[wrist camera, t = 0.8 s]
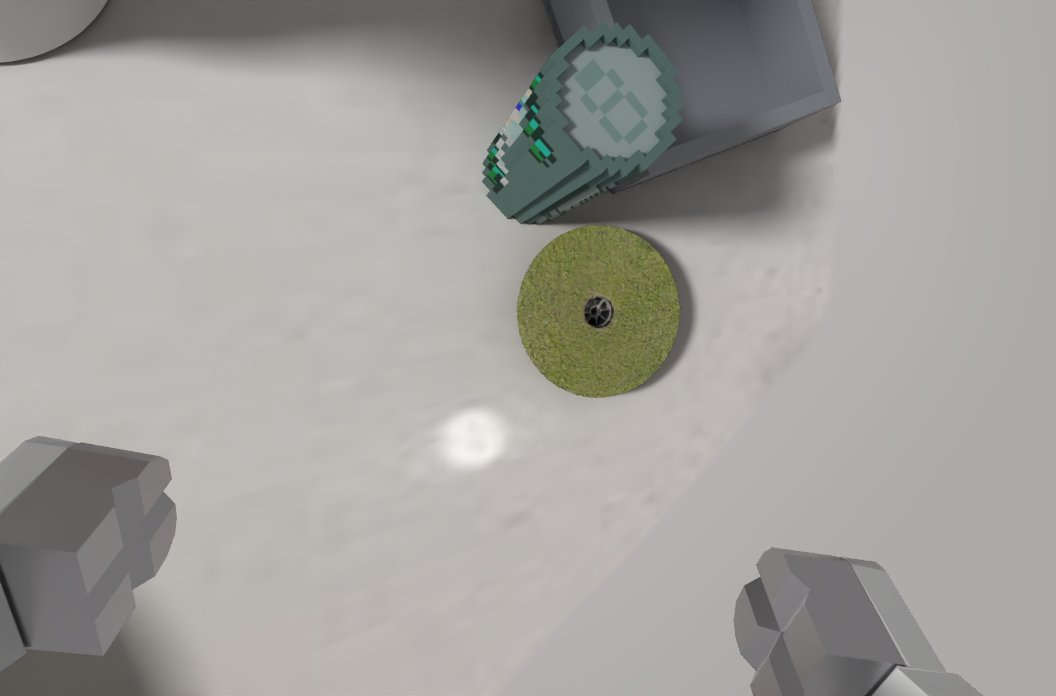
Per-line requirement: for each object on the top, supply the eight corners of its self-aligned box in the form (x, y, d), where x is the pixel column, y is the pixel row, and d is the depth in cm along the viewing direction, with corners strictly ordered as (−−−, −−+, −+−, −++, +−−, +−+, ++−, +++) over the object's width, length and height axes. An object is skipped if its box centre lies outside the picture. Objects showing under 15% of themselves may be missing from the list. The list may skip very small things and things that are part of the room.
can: (530, 109, 40) (617, -7, 26) (591, 180, 41) (707, 108, 27) (464, 171, 39) (515, 88, 25) (528, 241, 41) (612, 202, 26)
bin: (537, -13, 40) (565, -69, 34) (719, -68, 43) (773, -128, 37) (611, 194, 42) (649, 174, 36) (780, 129, 45) (841, 101, 39)
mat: (604, 195, 42) (615, 189, 40) (696, 324, 44) (710, 324, 42) (476, 298, 40) (481, 297, 38) (578, 427, 42) (588, 432, 40)
